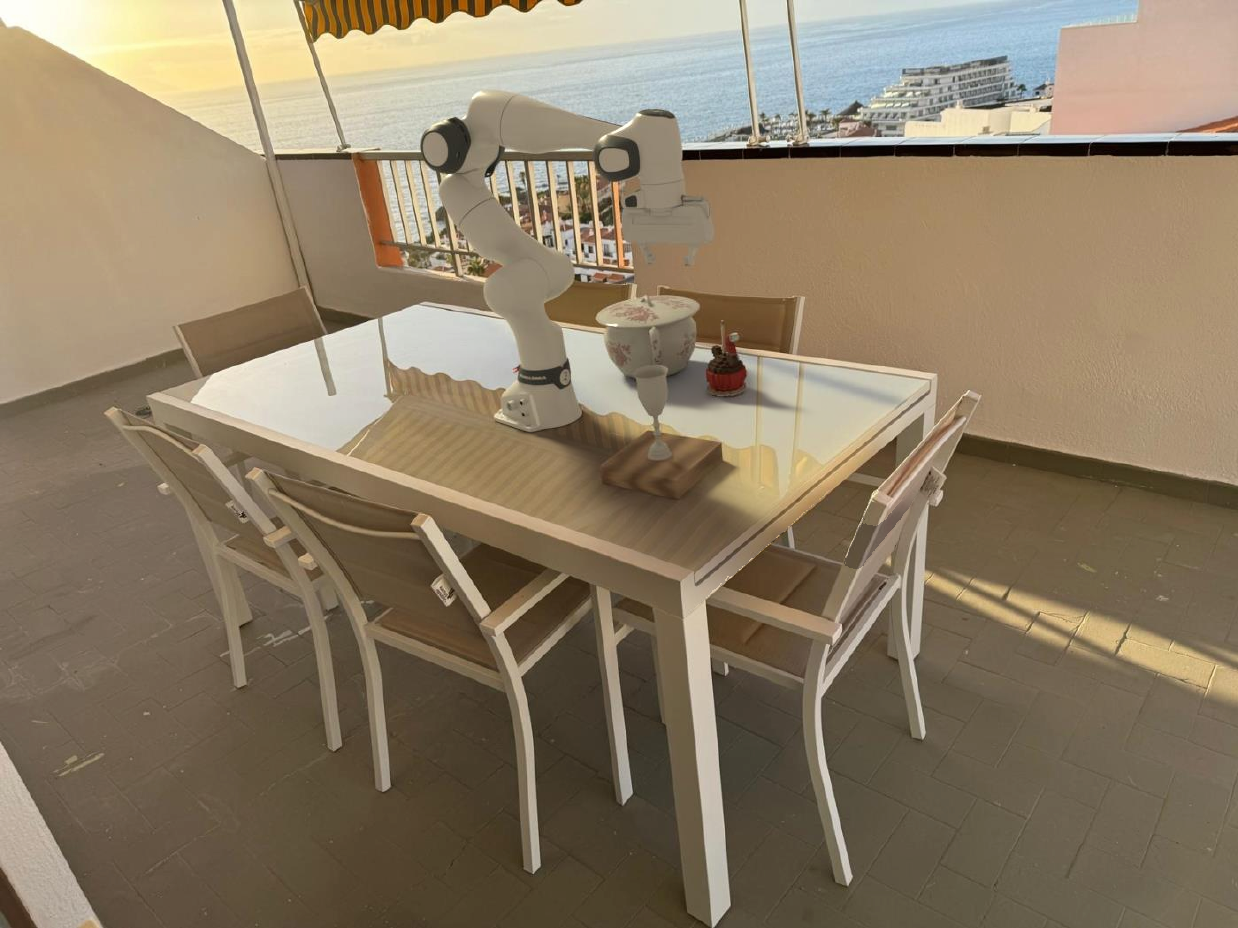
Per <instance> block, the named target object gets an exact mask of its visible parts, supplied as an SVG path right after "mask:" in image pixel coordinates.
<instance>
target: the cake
mask: <svg viewBox="0 0 1238 928" xmlns="http://www.w3.org/2000/svg"><path fill="white" fill-rule="evenodd" d="M719 322H720V334H721V335H720V337H721V345H718V344H715V345H712V347H711V348H710V349H711V354H712V357H713V359H711V360H709V362H708V363H707V367H706V369H705V375H706V376H705V377H706V383H708V384H709V385H707V388H706V389H707V393H708V394H710V395H712V396H714V395H716V396H717V397H719V396H721V397H723V396H724V397H729V396H731V397H732V396H735V395H740V394H742V392H745V390H747V383H746V382H745V380H746V379H747V377H748V373H747V372H748V370H747V368H746V365H745V364H744V363H743V360H742V359H740V355H739V354H738V352H737V348H736V345H735V342H738V341H739V340H740V335H739V333H737V332H733V333H729V334H726V329H725V328H726V327H725V320H723V319H722V320H720V321H719Z"/></svg>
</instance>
